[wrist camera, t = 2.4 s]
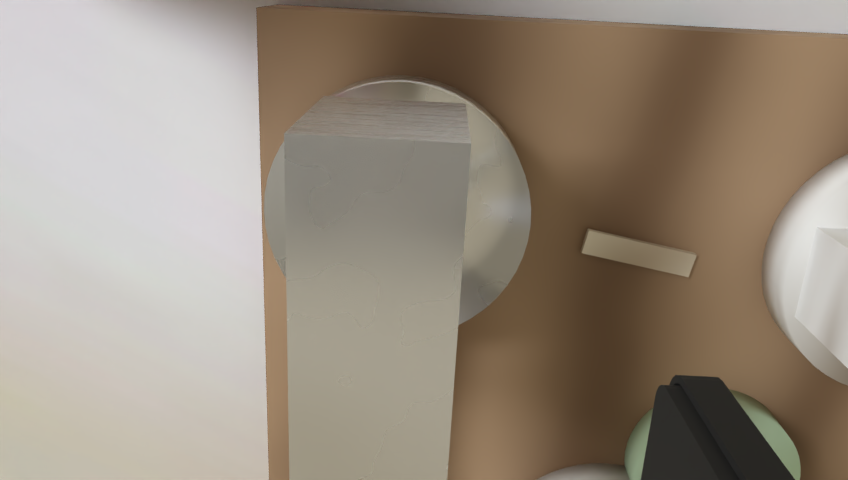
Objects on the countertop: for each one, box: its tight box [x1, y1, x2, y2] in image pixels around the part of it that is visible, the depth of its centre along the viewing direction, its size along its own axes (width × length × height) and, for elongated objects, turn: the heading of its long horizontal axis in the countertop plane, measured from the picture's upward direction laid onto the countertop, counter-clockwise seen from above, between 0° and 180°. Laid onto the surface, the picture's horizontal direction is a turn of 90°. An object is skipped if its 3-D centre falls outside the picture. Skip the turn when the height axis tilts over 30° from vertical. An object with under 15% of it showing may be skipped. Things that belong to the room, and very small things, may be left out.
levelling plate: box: [256, 5, 848, 480], centre depth 22 cm, size 22×20×7 cm
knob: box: [264, 75, 531, 480], centre depth 18 cm, size 12×7×8 cm, turn 177°
